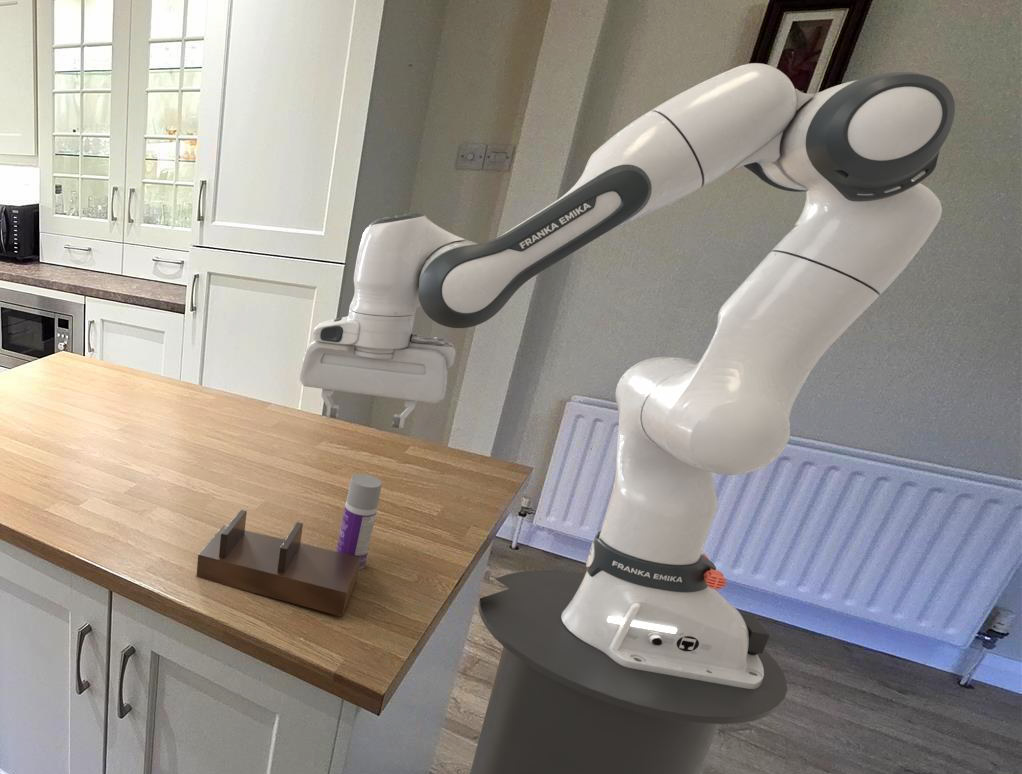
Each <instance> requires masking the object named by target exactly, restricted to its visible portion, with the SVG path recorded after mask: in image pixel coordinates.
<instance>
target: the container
mask: <svg viewBox="0 0 1022 774" xmlns="http://www.w3.org/2000/svg"><path fill="white" fill-rule="evenodd" d="M382 484H383V483H382V480H381V479H379V478H378V477H376V476H374V475H371V474H367V473H366V474H365V473H357V474H354V475H352V476H351V478H350V482H349V487H348V491H347V495H346V500H345V504H344V508H343V514H342V520H341V524H340V529H339V530H340V531H339V535H338V539H337V545H336V550H335V551H336V552H340V553H344V554H349V555H353V556H357V557H361V559H360V565H359V571H360V570H363V569H364V568H365V566H366V562H367V558H368V554H369V549H370V545H371V544H370V543H371V540H372V535H373V532H374V531H373V530H374V526H375V521H376V517H377V511H378V507H379V503H380V502H379V501H380V497H381V496H380V495H381V491H382V486H383V485H382Z"/></svg>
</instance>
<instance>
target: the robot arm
mask: <svg viewBox="0 0 1022 774" xmlns="http://www.w3.org/2000/svg"><path fill="white" fill-rule="evenodd" d="M955 103H956V102H955V99H954V95H953V93H952V91H951V90H950V89H949V87H948V86H947V85H946V84H944V83H943V82H942V81H941V80H939V79H938V78H935V77H933V76H930V75H928V74H923V73H919V72H912V71H911V72H909V71H888V72H881V73H876V74H871V75H868V76H864V77H862V78H859V79H855V80H851V81H847V82H844V83H841V84H837V85H834V86H830V87H829V88H826V89H823V90H822V91H818V92H815V93H805V92H803V91H801V90H799V89H797V88H795V86H794V84H793V82H792V81H791V79H790V78H789V77H788V76H787V75H786V74H785V73H784V72H783V71H781V70H780V69H778V68H776V67H774V66H772V65H769V64H765V63H759V62H751V63H746V64H742V65H738V66H736V67H733V68H731V69H729V70H725V71H724V72H721V73H718V74H717V75H714V76H712V77H710V78H708V79H706V80H704V81H702V82H699V83H698V84H696V85H694V86H692V87H690V88H687V89H686V90H684V91H682V92H680V93H678V94H676V95H675V96H673V97H671V98H670V99H667V100H666V101H664V102H662V103H661V104H659V105H657V106H656V107H654V108H652V109H651V110H649V111H647V112H646V113H644V114H642V115H641V116H639V117H637V118H636V119H635V120H633V121H632V122H630V123H629V124H628V125H625V127H622V129H620V130H619V131H618V132H616V133H615V134H614V135H613V136H611V137H610V138H608V139H607V141H605V142H604V143H603V144H602V145H600V146H599V148H597V149H596V150H595V151H594V152H593V153H592V154H590V157H589V159H588V160H587V162H586V165H585V168H584V170H583V172H582V174H581V175H580V177H579V179H578V180H577V181H576V183H575V184H574V185H573V186H572V187H571V188H570V189H569V190H568V191H567V192H566V193H564V194H563V195H562V196H561V197H559V198H558V199H557V200H555V201H553V202H552V203H550V204H548V205H547V206H546V207H544V208H542V209H541V210H539V211H537V212H536V213H535V214H533V215H531V216H529V217H528V218H527V219H525V220H524V221H522V222H520V223H519V224H517V225H515V226H514V227H512V228H510V229H508V230H507V231H506V232H504V233H503V234H501V235H499V236H497V237H495V238H492V239H490V240H487V241H483V242H480V243H478V242H474V241H472V240H469V239H466V238H464V237H461V236H459V235H456V234H454V233H452V232H450V231H448V230H446V229H444V228H442V227H441V226H439V225H438V224H436V223H434V222H433V221H431V220H430V219H429V218H428V217H427V216H426V214H423V213H420V212H419V213H417V212H416V213H415V212H410V213H400V214H394V215H389V216H385V217H381V218H378V219H375V220H374V221H373V222H371V223H369V225H368V226H367V227H366V228H365V230H364V232H363V233H362V236H361V238H360V243H359V246H358V251H357V255H356V260H355V267H354V273H353V286H354V293H353V297H352V300H351V302H350V305H349V308H348V309H349V310H348V314H347V316H342V317H337V318H332V319H328V320H325V321H322V322H319V324H317V325H316V326H315V327H314V329H313V331H312V338H313V340H314V341H312V342H311V343H310V344H309V345H308V346H307V348H306V349H305V352H304V355H303V358H302V362H301V365H300V371H299V381H300V383H301V384H302V386H303V387H306V388H315V389H321V397H322V400H323V402H324V404H325V407H326V416H325V417H326V418H327V419H328V418H329V419H334V420H335V419H337V418H339V411H340V405H339V404H335V402H334V399H333V398H332V396H333V394H334V393H335V391H337V392H343V393H351V394H357V395H358V394H360V395H365V396H374V397H382V398H388V399H395V400H404V404H403V406H404V408H405V409H404V410H403V411H402V412H401V413H395V414H394V415H393V418H392V423H391V428H394V429H399V430H400V429H401V430H402V429H404V426H405V423H406V422H405V421H406V418H407V417H408V416H409V415H410V414H411V412H412V411H413V410H414V409H415V408H416V406H417V403H418V402H419V403H427V404H432V405H433V404H434V405H437V404H438V403H440V402H441V401H443V400H444V399H445V397H446V392H447V385H448V373H449V372H448V370H450V369H451V368H452V367H453V365H454V364H455V359H456V354H457V349H456V347H455V345H454V344H453V343H452V342H451V341H449V340H447V338H445V337H441V336H436V337H434V336H433V337H432V336H427V335H421V334H413V329H414V324H415V317H416V313H417V309H418V308H419V307H421V308H422V310H423V312H424V313H425V315H426V316H427V317H428V318H429V319H430V320H432V321H433V322H435V323H437V324H438V325H440V326H442V327H443V326H444V327H447V328H451V329H468V328H473V327H476V326H479V325H482V324H483V323H486V322H487V321H488V320H490V319H492V318H493V317H494V316H496V315H497V314H498V313H499V312H500V311H501V310H502V309H503V308H504V306H505V305H506V304H508V301H509V300H510V299H511V298H512V297H513V296H514V294H515V293H516V292H517V291H518V290H519V289H520V288H521V287H522V286H523V285H524V284H525V283H526V282H528V281H529V280H531V279H532V278H534V277H535V276H537V275H538V274H540V273H542V272H543V271H545V270H546V269H548V268H550V267H551V266H553V265H555V264H557V263H559V262H560V261H561V260H563V259H565V258H567V257H568V256H570V255H571V254H573V253H575V252H576V251H578V250H580V249H581V248H583V247H585V246H586V245H588V244H590V243H591V242H593V241H595V240H597V239H598V238H600V237H601V236H603V235H605V234H607V233H609V232H611V231H613V230H615V229H617V228H620V227H621V226H624V225H626V224H629V223H631V222H634V221H635V220H638V219H640V218H642V217H644V216H647V215H649V214H652V213H654V212H656V211H658V210H660V209H663V208H665V207H667V206H669V205H671V204H673V203H675V202H677V201H679V200H681V199H684V198H685V197H687V196H689V195H690V194H693V193H694V192H696V191H698V190H699V189H701V188H703V187H705V186H707V185H708V184H710V183H712V182H714V181H716V180H717V179H718V178H721V177H722V176H725V175H726V174H727V173H729V172H732V171H734V170H737V169H739V168H741V167H744V168H746V169H747V170H748V171H750V172H752V173H753V174H754V175H756V176H757V178H759V179H760V180H761V181H763V182H764V183H765V184H767V185H769V186H771V187H773V188H775V189H779V190H782V191H786V192H793V193H801V192H803V193H804V192H805V201H804V202H805V203H804V206H803V209H802V211H801V214H800V216H799V218H798V219H797V221H796V222H795V224H794V227H793V228H792V229H791V230H790V231H789V232H787V234H786V235H784V237H782V239H781V240H780V241H779V242H778V243H777V244H776V245H775V246H774V247H773V248H772V249H771V250H770V252H768V254H767V255H766V256H765V257H764V258H763V260H761V262H760V263H758V264H757V266H756V267H755V268H754V270H753V271H752V272H751V273H750V274H748V276H747V277H746V279H745V280H743V281H742V283H740V284H739V286H738V287H737V288H736V289H735V290H734V292H733V293H732V294H731V295H730V296H729V297H728V298H727V299H726V300H725V302H724V303H723V304H722V305H721V306H720V309H719V310H718V314H717V324H716V328H715V331H714V334H713V337H712V338H711V340H710V343H709V344H708V346H707V348H706V350H705V352H704V353H703V355H702V357H701V359H700V360H699V361H698V360H694V359H691V358H685V357H675V356H656V357H651V358H647V359H644V360H641V361H639V362H638V363H634V365H632V366H631V367H629V368H628V369H627V370H626V371H625V372H624V373H623V374H622V376H620V378H619V380H618V382H617V385H616V388H615V401H616V405H617V411H618V427H617V438H616V439H617V441H616V460H615V461H616V462H615V474H614V482H613V487H612V490H611V494H610V496H609V501H608V505H607V508H606V512H605V515H604V518H603V522H602V525H601V528H600V529H601V530H599V531H597V533H596V534H595V536H594V539H593V541H592V542H591V546H590V548H589V552H588V555H587V559H586V564H585V566H586V567H585V568H586V569H585V570H586V572H585V573H584V574H585V576H584V579H583V581H582V583H581V585H580V587H579V589H578V590H577V592H576V594H575V596H574V597H573V599H572V600H571V602H570V603H569V605H568V606H567V607H566V608H565V610H564V611H563V612H562V615H561V618H562V621H563V623H564V625H565V626H566V627H567V629H568V630H569V631H570V632H572V633H573V634H574V635H575V636H577V637H578V638H579V639H581V640H583V641H584V642H586V643H588V644H589V645H591V646H593V647H595V648H597V649H599V650H601V651H602V652H604V653H606V654H607V655H608V656H609V657H610V658H612V659H613V660H614V661H615V662H617V663H618V664H620V665H622V666H624V667H627V668H632V669H638V670H643V671H649V672H655V673H661V674H666V675H672V676H678V677H683V678H689V679H695V680H701V681H706V682H712V683H718V684H723V685H729V686H735V687H741V688H746V689H756V688H758V687H759V686H760V685H761V684H762V681H763V677H764V669H763V665H762V663H761V660H760V659H759V657H758V655H757V654H758V653H761V654H762V653H763V651H764V649H765V648H766V646H767V644H768V641H769V639H770V636H771V635H770V633H769V632H768V631H767V630H766V628H765V627H764V626H763V625H762V624H761V622H760V621H759V620H758V619H757V617H756V616H755V615H754V614H749V613H745V612H740V611H739V610H738V609H737V608H736V607H735V606H734V605H733V604H732V603H731V602H730V601H729V600H728V599H726V598H725V597H724V596H723V595H722V594H721V593H720V592H719V591H717V590H721V589H723V588H725V587H726V586H727V579H726V578H725V576H724V574H723V572H721V571H720V570H717V567H716V565H715V563H714V562H713V561H711V560H710V559H709V557H708V556H707V555H706V554H705V552H703V550H704V547H705V544H706V542H707V539H708V537H709V533H710V531H711V528H712V526H713V522H714V520H715V517H716V515H717V512H718V504H719V503H718V495H717V492H716V489H715V484H714V474H717V475H723V476H741V475H745V474H750V473H753V472H756V471H759V470H760V469H762V468H765V467H766V466H768V465H769V464H771V463H772V462H774V461H776V459H777V458H778V457H779V456H780V455H781V454H782V453H783V451H784V450H785V448H786V447H787V445H788V443H789V439H790V437H791V423H790V418H791V417H790V416H791V413H792V408H793V406H794V404H795V401H796V400H797V397H798V395H799V393H800V392H801V390H802V388H803V386H804V384H805V382H806V381H807V380H808V377H809V375H810V374H811V372H812V371H813V369H814V368H815V366H816V365H817V363H818V362H819V361H820V360H821V358H822V356H823V355H824V354H825V353H826V352H827V351H828V350H829V348H830V347H831V346H832V345H833V344H834V343H835V342H836V341H837V340H838V339H839V338H840V337H841V335H843V334H844V333H845V331H846V330H847V329H848V328H849V327H850V326H851V325H852V324H853V323H854V322H855V321H856V320H857V319H858V318H859V317H860V316H861V315H862V314H863V313H864V312H865V311H866V310H867V309H868V308H869V307H870V306H871V305H872V304H873V303H874V302H875V301H876V300H877V299H878V298H879V296H881V295H882V294H883V293H884V292H885V291H886V289H887V288H889V287H890V285H891V284H892V283H893V282H894V281H895V280H896V279H897V278H898V277H899V276H900V274H901V273H902V272H903V271H904V270H905V269H906V268H907V266H908V265H909V264H910V263H911V262H912V260H913V259H914V257H915V256H916V255H917V254H918V252H919V251H920V250H921V248H922V247H923V246H924V244H925V243H926V242H927V241H928V239H929V237H930V236H931V234H932V232H933V231H934V230H935V228H936V226H937V225H938V223H939V222H940V220H941V217H942V212H943V208H942V202H941V201H940V199H939V197H938V196H937V195H936V194H935V193H934V192H933V191H932V190H931V189H930V188H929V187H928V186H927V185H924V184H923V183H922V182H923V181H924V180H926V179H928V177H929V176H931V175H932V173H933V172H934V171H935V169H936V167H937V163H938V159H939V155H940V151H941V149H942V147H943V145H944V143H945V142H946V140H947V138H948V136H949V134H950V132H951V129H952V126H953V123H954V120H955V113H956V104H955ZM922 172H925V173H924V174H922V175H921V176H919V175H920V174H921V173H922ZM917 176H919V177H918V178H917V179H915V178H916V177H917ZM914 179H915V180H914Z"/></svg>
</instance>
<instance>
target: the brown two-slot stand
mask: <svg viewBox="0 0 1022 774" xmlns="http://www.w3.org/2000/svg"><path fill="white" fill-rule="evenodd" d="M247 514H248V511H247V510H244V509H240V510H239V512H237V513H236V515H235V516H234V517H233V518H232V520H231V521H230V522H229V523H228V525H224V524H223V525H222V526H221V527H220V528H219V529H218V530H217V532H216V533H215V534H214V535H213V536H212V538H211V539H210V540H209V541H208V542H207V543H206V544H205V546H204V547H203V548H202V550H201V551H200V552H199V553H198V555H197V564H196V565H197V566H196V575H195V577H196V578H199V579H203V580H205V581H209V582H212V583H217V584H221V585H223V586H228V587H232V588H236V589H238V590H241V591H247V592H250V593H253V594H256V595H257V594H258V595H260V596H265V597H268V598H272V599H275V600H280V601H283V602H286V603H291V604H294V605H297V606H302V607H305V608H309V609H313V610H316V611H320V612H323V613H327V614H331V615H334V616H338V617H343V615H344V613H345V611H346V608H347V607H348V603H349V601H350V598H351V596H352V593H353V590H354V588H355V586H356V583H357V581H358V577H359V571H360V570H359V565H360V559H361V557H357V556H353V555H349V554H344V553H340V552H336V550H331V549H327V548H322V547H320V546H319V547H318V546H314V545H310V544H306V543H302V542H301V541H302V535H303V527H304V523H303V522H299V521H297V522H296V523H295V524H294V526H293V527H292V529H291V530H290V532H289V533H288V535H287V537H286V538H280V537H276V536H271V535H266V534H262V533H258V532H254V531H250V530H246V523H247Z"/></svg>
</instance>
